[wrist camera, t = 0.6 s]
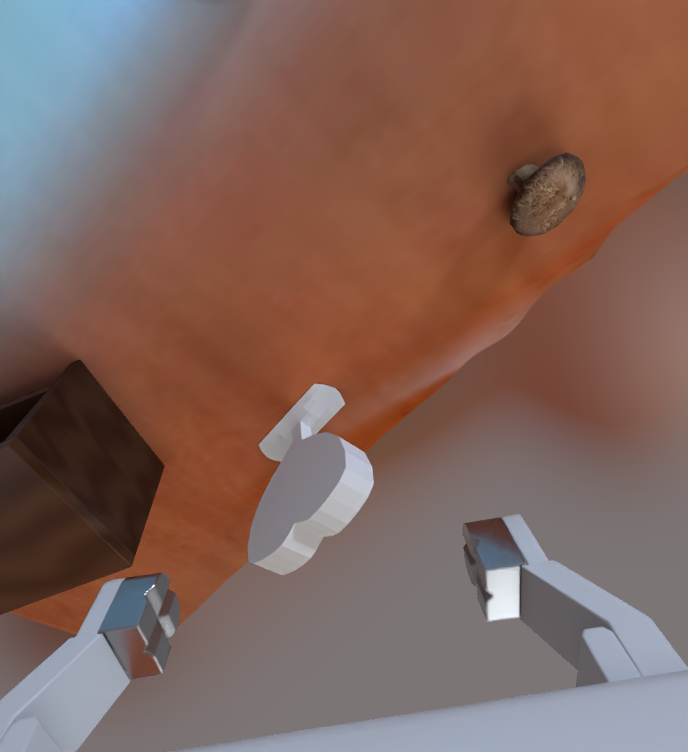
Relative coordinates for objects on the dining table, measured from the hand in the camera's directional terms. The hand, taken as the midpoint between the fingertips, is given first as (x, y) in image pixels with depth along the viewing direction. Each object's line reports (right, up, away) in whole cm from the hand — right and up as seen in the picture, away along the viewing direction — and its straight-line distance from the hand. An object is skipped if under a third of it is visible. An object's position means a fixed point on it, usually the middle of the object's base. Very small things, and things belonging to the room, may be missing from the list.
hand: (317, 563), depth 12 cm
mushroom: (+20, +24, +34) cm, 46 cm away
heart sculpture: (-5, -1, +45) cm, 45 cm away
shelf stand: (-34, -3, +41) cm, 54 cm away
